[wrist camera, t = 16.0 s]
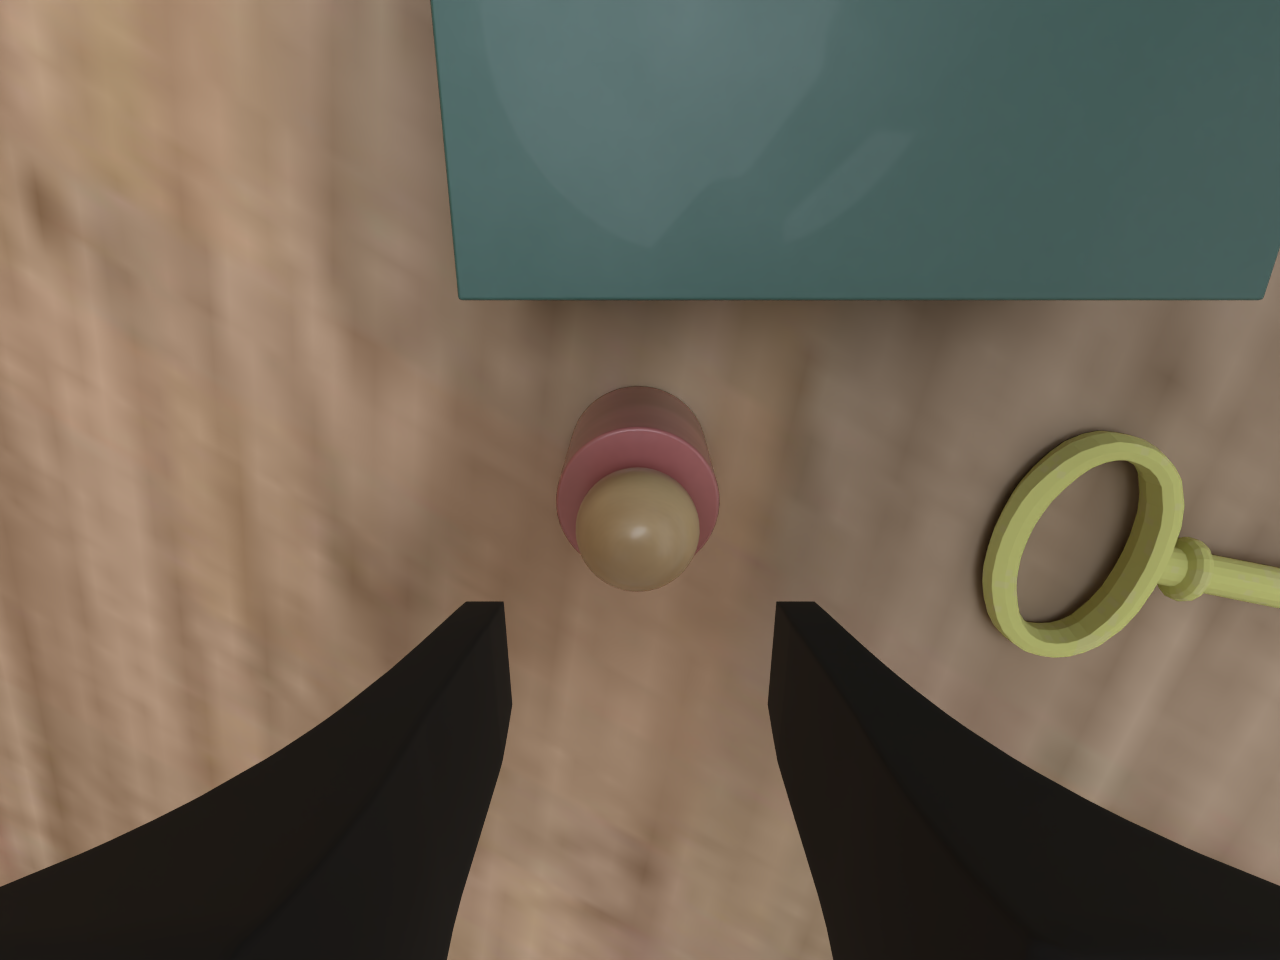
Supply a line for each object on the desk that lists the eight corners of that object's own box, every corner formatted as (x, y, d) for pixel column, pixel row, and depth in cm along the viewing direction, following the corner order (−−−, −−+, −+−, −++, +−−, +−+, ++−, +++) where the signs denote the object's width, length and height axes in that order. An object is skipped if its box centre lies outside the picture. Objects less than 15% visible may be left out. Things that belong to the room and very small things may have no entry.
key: (1361, 598, 22) (1431, 636, 20) (973, 643, 23) (1004, 684, 21) (1419, 381, 20) (1505, 401, 18) (980, 440, 21) (1016, 466, 19)
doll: (612, 360, 20) (599, 432, 13) (730, 427, 20) (771, 526, 14) (547, 474, 21) (508, 589, 15) (662, 534, 22) (670, 667, 15)
